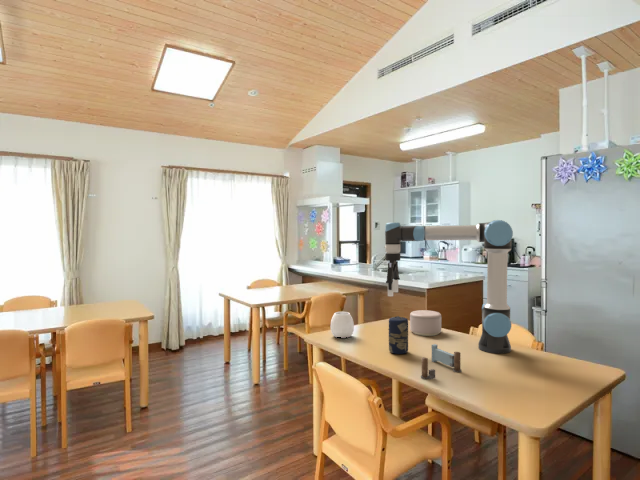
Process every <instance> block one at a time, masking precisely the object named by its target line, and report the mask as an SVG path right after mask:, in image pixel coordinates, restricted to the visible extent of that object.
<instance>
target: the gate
mask: <svg viewBox="0 0 640 480" xmlns="http://www.w3.org/2000/svg"><path fill="white" fill-rule="evenodd" d="M431 362H433V363H434V362H439V363H441V364H444V365H446V366H449V367H450V368H454V353H451V352H448V351H445V350H442V349H441V348H439V347H438V344H436V343H434V344H431Z"/></svg>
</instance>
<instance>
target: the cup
mask: <svg viewBox="0 0 640 480" xmlns="http://www.w3.org/2000/svg"><path fill="white" fill-rule="evenodd" d="M354 328H355V325H354V319H353V317H352V315H351V313H350V312H348V311H336V312H334V313H333V315H332V317H331V320H330V332H331V334H332V336H333V337H335V338H337V337H341V339H345V338H346V337H347V338H349V337H351V336H352V335H353V333H354V330H355V329H354Z"/></svg>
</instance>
